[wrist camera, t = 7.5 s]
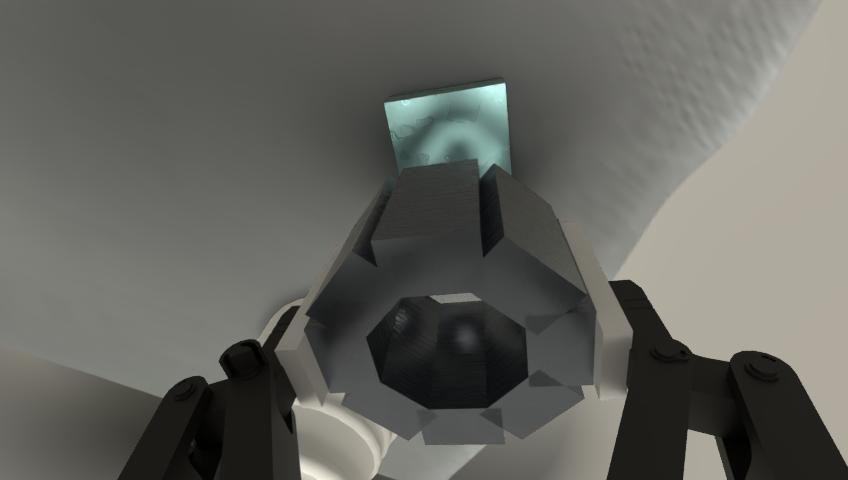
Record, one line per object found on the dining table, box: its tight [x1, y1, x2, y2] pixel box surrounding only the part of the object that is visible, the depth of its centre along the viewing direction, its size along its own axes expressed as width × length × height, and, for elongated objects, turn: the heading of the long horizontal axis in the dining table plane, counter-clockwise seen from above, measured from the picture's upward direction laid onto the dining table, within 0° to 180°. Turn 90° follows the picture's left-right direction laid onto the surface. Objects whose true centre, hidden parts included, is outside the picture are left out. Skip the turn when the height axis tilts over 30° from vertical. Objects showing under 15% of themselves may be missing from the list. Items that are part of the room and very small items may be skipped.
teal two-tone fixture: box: [384, 78, 512, 178], centre depth 21 cm, size 12×6×9 cm, turn 10°
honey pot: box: [257, 298, 397, 480], centre depth 26 cm, size 13×13×18 cm
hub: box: [304, 158, 597, 445], centre depth 15 cm, size 9×9×6 cm
